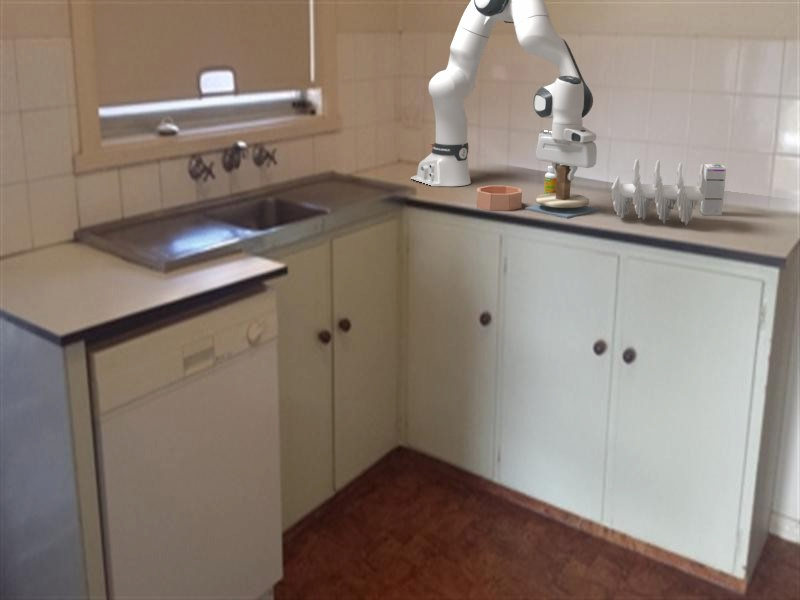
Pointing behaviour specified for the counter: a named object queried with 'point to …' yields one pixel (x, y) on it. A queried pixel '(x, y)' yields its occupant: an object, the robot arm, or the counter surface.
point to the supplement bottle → (550, 181)
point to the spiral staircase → (658, 195)
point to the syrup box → (713, 189)
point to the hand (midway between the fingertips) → (563, 178)
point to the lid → (562, 193)
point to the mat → (562, 210)
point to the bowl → (499, 198)
